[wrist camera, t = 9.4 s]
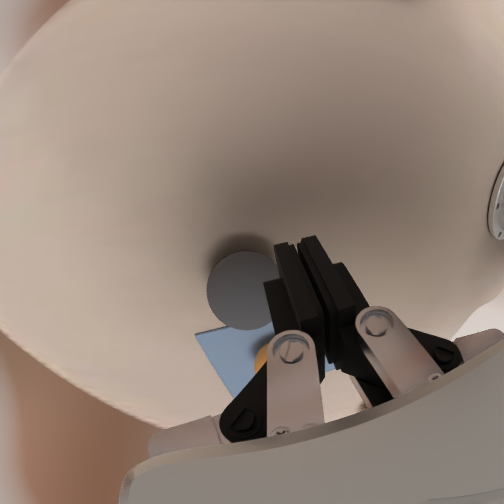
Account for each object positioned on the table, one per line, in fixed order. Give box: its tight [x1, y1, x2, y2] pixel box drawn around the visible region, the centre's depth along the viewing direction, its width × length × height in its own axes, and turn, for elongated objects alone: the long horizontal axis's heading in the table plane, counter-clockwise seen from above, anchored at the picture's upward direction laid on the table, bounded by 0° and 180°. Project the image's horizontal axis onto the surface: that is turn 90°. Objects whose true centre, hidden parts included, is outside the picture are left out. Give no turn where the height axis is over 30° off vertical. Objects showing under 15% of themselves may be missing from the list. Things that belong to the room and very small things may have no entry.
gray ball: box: [207, 251, 280, 330], centre depth 19 cm, size 6×6×6 cm
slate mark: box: [195, 322, 335, 398], centre depth 29 cm, size 14×14×1 cm
